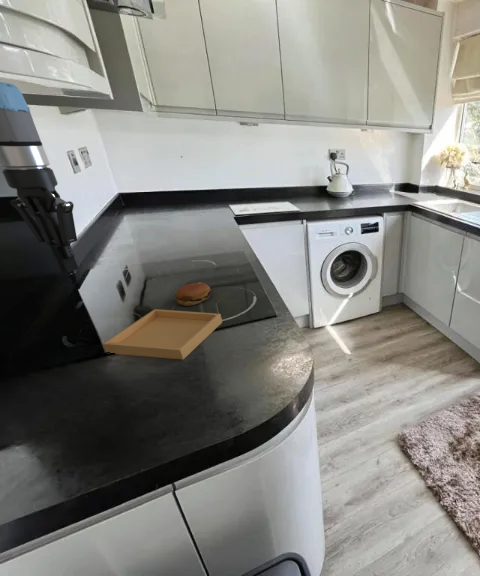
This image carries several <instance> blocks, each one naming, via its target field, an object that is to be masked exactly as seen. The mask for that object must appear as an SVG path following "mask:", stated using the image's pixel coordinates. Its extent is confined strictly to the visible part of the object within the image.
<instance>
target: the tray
mask: <svg viewBox="0 0 480 576" xmlns="http://www.w3.org/2000/svg"><path fill="white" fill-rule="evenodd" d="M222 324H223V319H222V315H221V313H217V312H216V313H214V312H199V311H186V310H185V311H184V310H171V309H156V308H154V309H153V310H151V311H150V312H148V313H147V314H145V315H144V316H142V317H141V318H139V319H138V320H136V321H135V322H133V323H132V324H130V325H129V326H127V327H125V328H124V329H122V330H121V331H120V332H118V333H117V334H115V335H114V336H112V337H111V338H109V339H107V340H106V341H104V342H103V343H102V346H103V348H104V351H105V352H110V353H115V354H114V355H123V356H134V357H135V356H136V357H147V358H157V359H158V358H161V359H170V360H181V361H182V360H183V361H184V360H185V359H186V358H187V357H188V356H189V355H190V354H191V353H192V352H193V351H194V350H195V349H196V348H197V347H199V345H200V344H201V343H202V342H204V341H205V339H207V338H208V336H210V335H211V334H212V333H213V332H214V331H215V330H216V329H217V328H219V326H220V325H222ZM110 353H109V354H110Z"/></svg>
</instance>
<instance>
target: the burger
mask: <svg viewBox="0 0 480 576" xmlns="http://www.w3.org/2000/svg"><path fill="white" fill-rule="evenodd" d="M212 292H213V291H212V289H211V287H210V286H209V285H208V284H206V283H205V282H201V281H197V282H192V283H188V284H185V285H183V286H181V287H179V288H178V289H177V290H176V293H175V300H176V304H178V305H179V306H182V307H183V306H184V307H191V306H196V305H198V304H201V303H203V302H205V301H206V300H208V299H209V298H210V297H211V295H212Z"/></svg>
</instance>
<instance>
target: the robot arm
mask: <svg viewBox="0 0 480 576" xmlns="http://www.w3.org/2000/svg"><path fill="white" fill-rule="evenodd" d="M50 164H51V162H50V160H49V158H48V155H47V153H46V151H45V148H44V145H43V143H42V140H41V138H40V135H39V132H38V130H37V127H36V124H35V122H34V118H33V116H32V113H31V109H30V107H29V105H28V104H27V101H26V100H25V97H24V95H23V93H22V91H21V89H20V88H19V87H18V86H16V85H15V84H13V83H9V82H3V81H0V167H2V168H4V169H2V174H3V177H4V179H5V181H6V183H7V186H8V187H9V188H11V189H14V190H16V195H17V198H16V199H12V200H11V199H10V201H9V203H10V205H11V206H12V207H13V208H14V209H15V210H16V211H17V212H18V214H19V215H20V216H21V218H22V219H23V221H24V222H25V224H26V226H27V227H28V228H29V230H30V231H31V233H32V234H33V236H34V237H35V239H36V240H37V242H39V243H44V244H46V246H47V247H49V249H50V251H51V253H52V255H53V257H54V258H55V259H56V261H57V264H58V267H59V268H60V271H61V273H62V274H63V273H64V274H69V273H72V272H74V271H77V270H79V265H78V264H77V261H76V259H75V253H74V251H73V248H72V246H71V244H72V243H75V242H77V241H78V238H77V231H76V226H75V219H74V214H73V211H74V206H75V204H74V202H73V201H70V200H69V201H66V200H64V199H62V198H61V195H60V194H59V192H58V191H57V190H56V186H58V179H57V178H56V174H55V173H54V170H53V169H52V168H51V167H48V166H50Z"/></svg>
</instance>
